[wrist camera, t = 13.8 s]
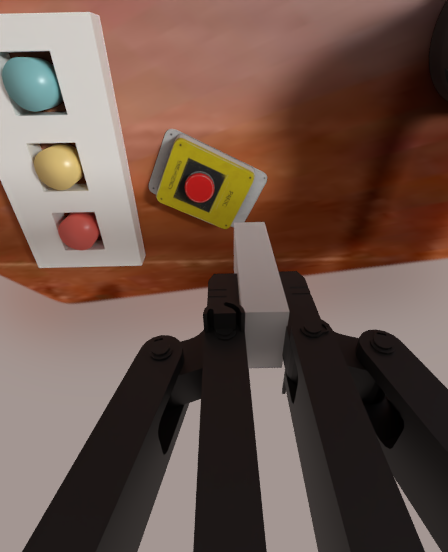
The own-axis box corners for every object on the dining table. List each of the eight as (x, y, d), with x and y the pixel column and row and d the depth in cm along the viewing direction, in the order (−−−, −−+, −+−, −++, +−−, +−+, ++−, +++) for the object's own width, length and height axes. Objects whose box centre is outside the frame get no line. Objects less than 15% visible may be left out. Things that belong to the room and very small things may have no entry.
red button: (97, 208, 45) (89, 218, 42) (106, 238, 48) (98, 250, 45) (63, 208, 45) (53, 219, 42) (73, 239, 48) (64, 250, 45)
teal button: (57, 56, 34) (42, 56, 32) (70, 107, 37) (58, 111, 34) (12, 57, 34) (-7, 57, 32) (29, 108, 37) (13, 112, 34)
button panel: (99, 15, 33) (89, 11, 30) (145, 255, 50) (141, 265, 48) (-50, 18, 33) (-72, 15, 30) (47, 257, 50) (38, 267, 48)
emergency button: (163, 131, 36) (274, 184, 40) (168, 124, 39) (269, 174, 43) (140, 200, 41) (241, 241, 44) (147, 189, 44) (239, 228, 48)
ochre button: (80, 142, 40) (69, 148, 37) (90, 181, 42) (81, 189, 40) (41, 143, 40) (27, 149, 37) (54, 181, 42) (42, 190, 40)
